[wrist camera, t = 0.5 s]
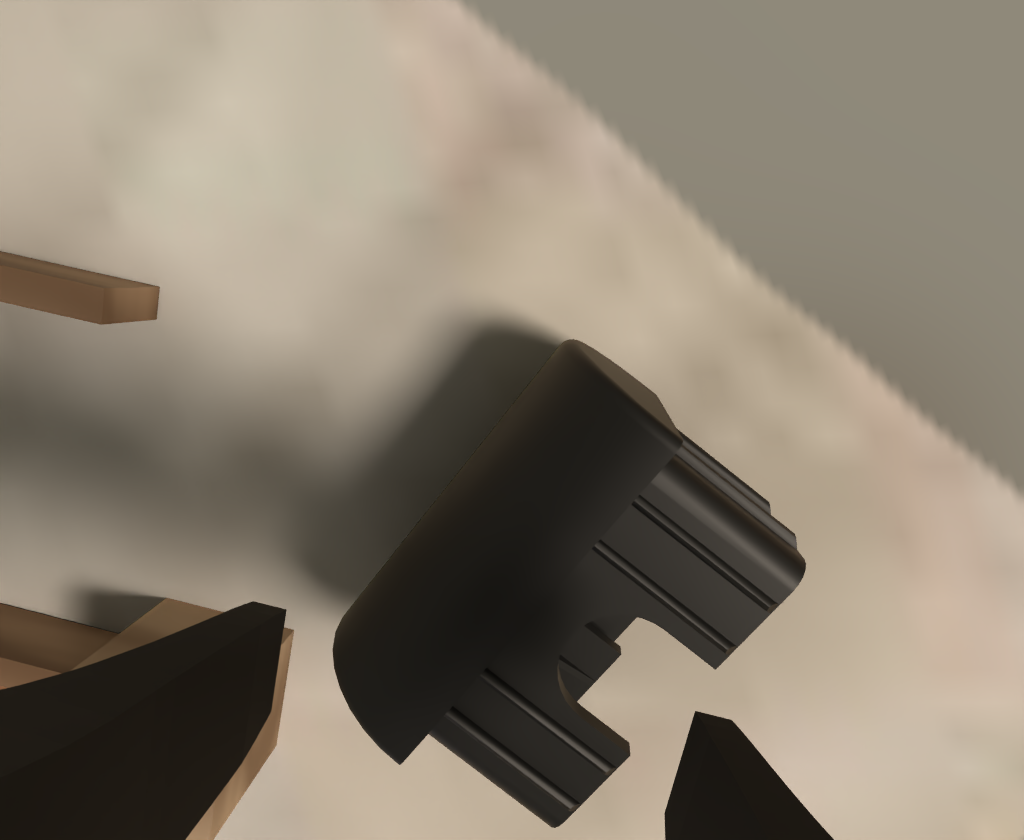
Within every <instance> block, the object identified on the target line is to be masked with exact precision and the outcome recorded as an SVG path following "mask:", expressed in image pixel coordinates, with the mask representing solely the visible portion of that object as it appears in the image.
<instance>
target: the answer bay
mask: <svg viewBox="0 0 1024 840" xmlns="http://www.w3.org/2000/svg"><path fill="white" fill-rule="evenodd" d="M159 288H160V287H157V286H153V285H148V284H144V283H139V282H135V281H130V280H126V279H121V278H117V277H112V276H108V275H103V274H99V273H95V272H90V271H86V270H81V269H77V268H72V267H68V266H63V265H59V264H54V263H50V262H45V261H41V260H36V259H32V258H27V257H23V256H18V255H14V254H9V253H5V252H1V251H0V302H5V303H9V304H14V305H18V306H22V307H27V308H31V309H35V310H40V311H44V312H49V313H53V314H57V315H62V316H66V317H71V318H75V319H79V320H84V321H88V322H92V323H97V324H112V323H123V322H133V321H144V320H155V319H157V309H158V298H159ZM117 635H118V634H117V633H113V632H110V631H106V630H102V629H98V628H94V627H90V626H86V625H82V624H78V623H74V622H71V621H67V620H63V619H59V618H55V617H51V616H47V615H43V614H39V613H35V612H32V611H28V610H24V609H20V608H16V607H12V606H8V605H4V604H0V686H3V687H7V688H10V687H14V686H18V685H22V684H26V683H29V682H33V681H36V680H40V679H44V678H47V677H51V676H55V675H58V674H61V673H65V672H68V671H71V670H72V669H73V668H75V667H76V666H77V665H79V664H80V663H81V662H83V661H84V660H85V659H87V658H88V657H89V656H91V655H92V654H93V653H95V652H96V651H97V650H99V649H100V648H101V647H102V646H104V645H105V644H106V643H108V642H109V641H110V640H112V639H113V638H114V637H116V636H117Z"/></svg>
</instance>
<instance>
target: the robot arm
mask: <svg viewBox="0 0 1024 840" xmlns="http://www.w3.org/2000/svg"><path fill="white" fill-rule="evenodd" d="M285 616H286V609H282V608H278V607H274V606H270V605H266V604H261V603H257V602H250V603H247V604H244V605H241V606H239V607H236V608H234V609H231V610H229V611H226V612H224V613H221V614H219V615H217V616H214V617H212V618H209V619H207V620H205V621H202V622H200V623H198V624H195V625H193V626H190V627H188V628H185V629H183V630H180V631H178V632H176V633H173V634H171V635H168V636H166V637H163V638H161V639H159V640H156V641H154V642H151V643H148V644H145V645H143V646H140V647H137V648H134V649H132V650H129V651H126V652H124V653H121V654H118V655H115V656H113V657H110V658H107V659H104V660H102V661H99V662H96V663H93V664H90V665H87V666H84V667H81V668H78V669H75V670H71V671H68V672H65V673H61V674H58V675H55V676H51V677H47V678H44V679H40V680H36V681H33V682H29V683H26V684H22V685H18V686H14V687H10V688H6V689H1V690H0V840H186V838H187V837H188V836H189V834H190V833H191V832H192V830H193V829H194V828H195V826H196V825H197V824H198V822H199V821H200V820H201V818H202V817H203V816H204V814H205V813H206V812H207V810H208V809H209V808H210V806H211V805H212V804H213V802H214V801H215V800H216V798H217V797H218V796H219V794H220V793H221V791H222V790H223V789H224V787H225V786H226V785H227V783H228V782H229V781H230V779H231V778H232V777H233V775H234V774H235V772H236V771H237V770H238V768H239V767H240V766H241V764H242V763H243V761H244V759H245V757H246V756H247V754H248V752H249V751H250V749H251V747H252V745H253V744H254V742H255V740H256V739H257V737H258V735H259V733H260V731H261V729H262V728H263V726H264V724H265V722H266V720H267V719H268V717H269V715H270V713H271V710H272V704H273V697H274V690H275V683H276V677H277V670H278V663H279V656H280V650H281V643H282V636H283V629H284V622H285ZM665 838H666V840H834V839H833V838H832V837H831V836H830V835H829V834H828V833H827V832H826V830H825V829H824V828H823V827H822V826H821V825H820V824H819V823H818V822H817V820H816V819H815V818H814V817H813V816H812V815H811V814H810V812H809V811H808V810H807V809H806V808H805V807H804V806H803V804H802V803H801V802H800V801H799V800H798V799H797V797H796V796H795V795H794V794H793V793H792V791H791V790H790V789H789V788H788V787H787V785H786V784H785V783H784V782H783V781H782V779H781V778H780V777H779V776H778V775H777V773H776V772H775V771H774V770H773V769H772V767H771V766H770V765H769V764H768V762H767V761H766V760H765V759H764V758H763V756H762V755H761V754H760V753H759V751H758V750H757V749H756V748H755V747H754V745H753V744H752V743H751V742H750V741H749V739H748V738H747V737H746V736H745V735H744V733H743V732H742V731H741V730H740V729H739V728H738V727H737V725H736V724H735V723H734V722H733V721H732V720H729V719H725V718H721V717H717V716H713V715H709V714H705V713H701V712H697V711H695V714H694V717H693V720H692V724H691V727H690V730H689V734H688V737H687V740H686V744H685V747H684V750H683V754H682V757H681V760H680V764H679V767H678V770H677V774H676V777H675V780H674V784H673V787H672V790H671V794H670V797H669V800H668V804H667V807H666V810H665Z"/></svg>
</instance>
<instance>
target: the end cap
mask: <svg viewBox="0 0 1024 840" xmlns="http://www.w3.org/2000/svg"><path fill="white" fill-rule="evenodd" d="M805 569H806V563H805V560H804V558H803V557H802V556H801V554H800V553H799V552H798V550H797V542H796V536H795V534H794V533H793V532H792V531H790V530H789V529H788V528H787V527H785V526H784V525H783V524H782V523H780V522H779V521H778V520H777V519H775V518H774V517H773V516H772V515H771V510H770V504H769V502H768V501H767V500H766V499H764V498H763V497H762V496H761V495H759V494H758V493H757V492H756V491H754V490H753V489H752V488H751V487H749V486H748V485H747V484H746V483H744V482H743V481H742V480H741V479H739V478H738V477H737V476H735V475H734V474H733V473H732V472H730V471H729V470H728V469H727V468H725V467H724V466H723V465H722V464H720V463H719V462H718V461H717V460H715V459H714V458H713V457H712V456H710V455H709V454H708V453H707V452H705V451H704V450H703V449H702V448H700V447H699V446H698V445H697V444H695V443H694V442H693V441H692V440H690V439H689V438H688V437H687V436H685V435H684V434H683V433H682V432H680V431H679V430H678V429H677V428H676V427H675V425H674V424H673V422H672V420H671V419H670V417H669V415H668V414H667V412H666V410H665V408H664V407H663V405H662V403H661V402H660V400H659V398H658V397H657V395H656V394H655V393H653V392H652V391H651V390H650V389H648V388H647V387H646V386H644V385H643V384H642V383H641V382H639V381H638V380H637V379H635V378H634V377H633V376H631V375H630V374H629V373H627V372H626V371H625V370H623V369H622V368H621V367H619V366H618V365H617V364H615V363H614V362H612V361H611V360H610V359H608V358H607V357H605V356H604V355H602V354H601V353H599V352H598V351H596V350H595V349H593V348H591V347H590V346H588V345H586V344H585V343H583V342H580V341H578V340H574V339H572V340H567V341H564V342H563V343H562V344H561V345H560V346H559V347H558V348H557V349H556V351H555V352H554V353H553V354H552V356H551V357H550V358H549V359H548V361H547V362H546V363H545V364H544V366H543V367H542V368H541V369H540V371H539V372H538V373H537V374H536V376H535V377H534V378H533V379H532V381H531V382H530V383H529V384H528V386H527V387H526V388H525V389H524V391H523V392H522V393H521V395H520V396H519V397H518V398H517V400H516V401H515V402H514V403H513V405H512V406H511V407H510V408H509V410H508V411H507V412H506V413H505V415H504V416H503V417H502V418H501V420H500V421H499V422H498V423H497V425H496V426H495V427H494V428H493V430H492V431H491V432H490V433H489V435H488V436H487V437H486V438H485V440H484V441H483V442H482V443H481V445H480V446H479V447H478V448H477V450H476V451H475V452H474V453H473V455H472V456H471V457H470V458H469V460H468V461H467V462H466V463H465V465H464V466H463V467H462V468H461V470H460V471H459V472H458V473H457V475H456V476H455V477H454V478H453V480H452V481H451V482H450V483H449V485H448V486H447V487H446V488H445V490H444V491H443V492H442V493H441V495H440V496H439V497H438V498H437V500H436V501H435V502H434V503H433V505H432V506H431V507H430V508H429V510H428V511H427V512H426V514H425V515H424V516H423V517H422V519H421V520H420V521H419V522H418V524H417V525H416V526H415V527H414V529H413V530H412V531H411V532H410V534H409V535H408V536H407V537H406V539H405V540H404V541H403V542H402V544H401V545H400V546H399V547H398V549H397V550H396V551H395V552H394V554H393V555H392V556H391V557H390V559H389V560H388V561H387V562H386V564H385V565H384V566H383V567H382V569H381V570H380V571H379V572H378V574H377V575H376V576H375V577H374V579H373V580H372V581H371V582H370V584H369V585H368V586H367V587H366V589H365V590H364V591H363V592H362V594H361V595H360V596H359V597H358V599H357V600H356V601H355V602H354V604H353V605H352V606H351V607H350V609H349V610H348V611H347V612H346V614H345V615H344V616H343V618H342V620H341V622H340V624H339V626H338V628H337V630H336V632H335V638H334V644H333V659H334V669H335V672H336V676H337V679H338V683H339V686H340V689H341V691H342V693H343V695H344V698H345V700H346V702H347V704H348V706H349V708H350V710H351V711H352V713H353V714H354V716H355V717H356V719H357V720H358V722H359V723H360V725H361V726H362V728H363V729H364V731H365V732H366V733H367V734H368V735H369V736H370V737H371V738H372V740H373V741H374V742H375V743H376V744H377V745H378V746H379V748H380V749H382V750H383V751H384V752H385V753H386V754H387V755H389V756H390V757H391V758H392V759H393V760H394V761H395V762H397V763H398V764H399V765H400V764H402V763H403V762H404V760H405V759H406V758H407V757H408V756H409V755H410V754H411V753H412V751H413V750H414V749H415V748H416V747H417V746H418V745H419V744H420V742H421V741H422V740H423V739H424V738H425V737H426V736H427V734H429V735H431V736H432V737H433V738H435V739H436V740H437V741H439V742H440V743H441V744H443V745H444V746H445V747H447V748H448V749H449V750H450V751H452V752H453V753H454V754H456V755H457V756H458V757H460V758H461V759H462V760H464V761H465V762H466V763H468V764H469V765H470V766H472V767H473V768H474V769H476V770H477V771H478V772H480V773H481V774H482V775H483V776H485V777H486V778H487V779H489V780H490V781H491V782H493V783H494V784H495V785H497V786H498V787H499V788H501V789H502V790H503V791H505V792H506V793H507V794H509V795H510V796H511V797H512V798H514V799H515V800H516V801H518V802H519V803H520V804H522V805H523V806H524V807H526V808H527V809H528V810H530V811H531V812H532V813H534V814H535V815H536V816H538V817H539V818H540V819H542V820H543V821H544V822H545V823H547V824H548V825H549V826H551V827H554V828H556V827H558V826H560V825H561V824H562V823H564V822H565V821H566V820H567V819H568V818H569V817H570V816H571V815H572V814H573V813H574V812H575V811H576V810H577V809H578V808H579V807H580V806H581V805H582V804H583V803H584V802H585V801H586V800H587V799H588V798H589V797H590V796H591V795H592V794H593V793H594V792H595V790H596V789H597V788H598V787H599V786H600V785H601V784H602V783H603V782H604V781H605V780H606V779H607V778H608V777H609V776H610V775H611V774H612V773H613V772H614V771H615V770H616V769H617V768H618V767H619V766H620V765H621V764H622V763H623V762H624V761H625V760H626V759H627V758H628V757H629V756H630V746H629V742H627V741H626V740H625V739H624V738H622V737H621V736H620V735H618V734H617V733H616V732H614V731H613V730H612V729H611V728H609V727H608V726H607V725H605V724H604V723H603V722H601V721H600V720H599V719H598V718H596V717H595V716H594V715H592V714H591V713H590V712H588V711H587V710H586V709H585V708H583V707H582V706H581V705H580V704H579V703H578V702H577V701H578V700H579V699H580V698H581V697H582V696H583V694H584V693H585V692H586V691H587V690H588V689H589V688H590V687H591V686H592V685H593V684H594V683H595V682H596V681H597V680H598V679H599V677H600V676H601V675H602V674H603V673H604V672H605V671H606V670H607V669H608V668H609V667H610V666H611V665H612V664H613V663H614V662H615V661H616V659H617V658H618V657H619V656H620V655H621V648H620V646H619V645H618V644H616V643H615V642H614V641H615V640H616V639H617V638H618V637H619V636H620V635H621V634H622V632H623V631H624V630H625V629H626V628H627V627H628V626H629V625H630V624H631V623H632V622H633V621H634V620H635V619H636V617H639V618H643V619H645V620H648V621H650V622H652V623H654V624H656V625H658V626H659V627H661V628H662V629H664V630H665V631H667V632H668V633H669V634H670V635H672V636H673V637H674V638H676V639H677V640H678V641H679V642H681V643H682V644H683V645H684V646H686V647H687V648H688V649H690V650H691V651H692V652H693V653H695V654H696V655H697V656H699V657H700V658H701V659H702V660H704V661H705V662H706V663H708V664H709V665H710V666H711V667H713V668H714V669H715V670H716V669H717V668H718V667H719V666H720V665H721V664H722V663H723V662H724V661H725V660H726V659H727V658H728V657H729V656H730V655H731V653H732V652H733V651H734V650H735V649H736V648H737V647H738V646H739V645H740V644H741V643H742V642H743V641H744V640H745V639H746V638H747V637H748V636H749V635H750V634H751V633H752V632H753V631H754V630H755V629H756V628H757V627H758V626H759V625H760V624H761V623H762V622H763V621H764V620H765V619H766V618H767V617H768V616H769V615H770V614H771V613H772V612H773V611H774V610H775V609H776V608H777V607H778V606H779V605H780V604H781V603H782V602H783V601H784V600H785V599H786V598H787V597H788V596H789V595H790V594H791V593H792V592H793V591H794V590H795V588H796V587H797V586H798V585H799V583H800V581H801V580H802V578H803V575H804V573H805Z"/></svg>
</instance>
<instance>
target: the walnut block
mask: <svg viewBox="0 0 1024 840" xmlns="http://www.w3.org/2000/svg"><path fill="white" fill-rule="evenodd" d="M221 613H224V612H221V611H217V610H213V609H209V608H205V607H201V606H197V605H193V604H189V603H185V602H181V601H177V600H173V599H169V598H166V599H164V600H163V601H162V602H161V603H159V604H158V605H157V606H155V607H154V608H153V609H151V610H150V611H149V612H147V613H146V614H145V615H143V616H142V617H141V618H139V619H138V620H137V621H135V622H134V623H133V624H132V625H130V626H129V627H128V628H126V629H125V630H124V631H122V632H121V633H120V634H118V635H117V636H116V637H114V638H113V639H112V640H110V641H109V642H108V643H106V644H105V645H104V646H102V647H101V648H100V649H99V650H97V651H96V652H95V653H93V654H92V655H91V656H89V657H88V658H87V659H85V660H84V661H83V662H81V663H80V664H79V665H77V666H76V667H75V668H73V669H72V670H75V669H78V668H81V667H84V666H87V665H90V664H93V663H96V662H99V661H102V660H104V659H107V658H110V657H113V656H115V655H118V654H121V653H124V652H126V651H129V650H132V649H134V648H137V647H140V646H143V645H145V644H148V643H151V642H154V641H156V640H159V639H161V638H163V637H166V636H168V635H171V634H173V633H176V632H178V631H180V630H183V629H185V628H188V627H190V626H193V625H195V624H198V623H200V622H202V621H205V620H207V619H209V618H212V617H214V616H217V615H219V614H221ZM293 634H294V630H292V629H288V628H284V629H283V636H282V643H281V650H280V656H279V663H278V670H277V677H276V683H275V690H274V697H273V704H272V710H271V713H270V715H269V717H268V719H267V720H266V722H265V724H264V726H263V728H262V729H261V731H260V733H259V735H258V737H257V739H256V740H255V742H254V744H253V745H252V747H251V749H250V751H249V752H248V754H247V756H246V757H245V759H244V761H243V763H242V764H241V766H240V767H239V768H238V770H237V771H236V772H235V774H234V775H233V777H232V778H231V779H230V781H229V782H228V783H227V785H226V786H225V787H224V789H223V790H222V791H221V793H220V794H219V796H218V797H217V798H216V800H215V801H214V802H213V804H212V805H211V806H210V808H209V809H208V810H207V812H206V813H205V814H204V816H203V817H202V818H201V820H200V821H199V822H198V824H197V825H196V826H195V828H194V829H193V830H192V832H191V833H190V834H189V836H188V837H187V838H186V840H213V839H214V838H215V836H216V835H217V833H218V832H219V830H220V829H221V827H222V826H223V824H224V823H225V821H226V820H227V818H228V817H229V815H230V814H231V812H232V811H233V809H234V808H235V806H236V805H237V803H238V802H239V800H240V799H241V797H242V796H243V795H244V793H245V792H246V790H247V789H248V787H249V786H250V784H251V783H252V781H253V780H254V778H255V777H256V775H257V774H258V772H259V771H260V769H261V768H262V766H263V765H264V763H265V762H266V760H267V759H268V757H269V756H270V754H271V753H272V751H273V750H274V748H275V747H276V744H277V738H278V731H279V725H280V718H281V712H282V705H283V699H284V692H285V686H286V679H287V673H288V666H289V660H290V653H291V647H292V640H293Z"/></svg>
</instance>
